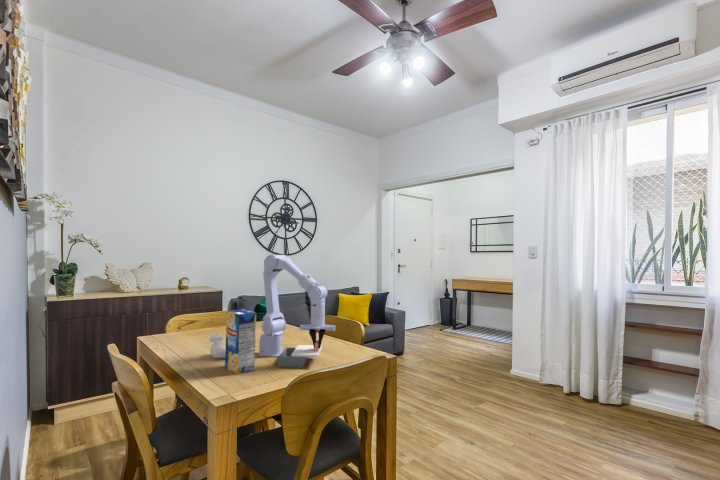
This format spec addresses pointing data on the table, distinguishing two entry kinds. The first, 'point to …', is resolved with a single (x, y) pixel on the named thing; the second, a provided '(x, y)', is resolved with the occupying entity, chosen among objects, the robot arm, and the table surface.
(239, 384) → the table surface
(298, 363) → the carton
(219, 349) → the bust
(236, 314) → the beverage box
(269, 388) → the table surface
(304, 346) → the carton lid
